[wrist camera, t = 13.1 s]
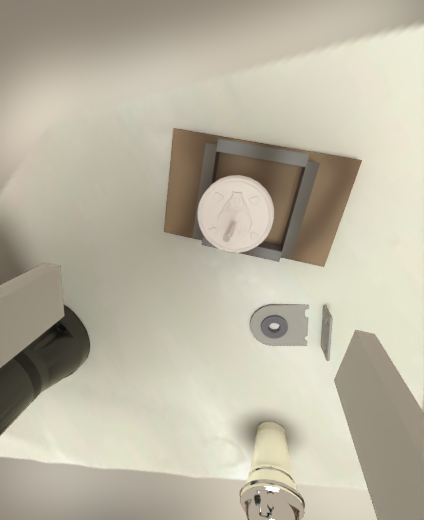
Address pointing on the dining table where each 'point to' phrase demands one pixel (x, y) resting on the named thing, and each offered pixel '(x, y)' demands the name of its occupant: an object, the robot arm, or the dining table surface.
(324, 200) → the keeper board
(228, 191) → the smoothie
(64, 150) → the dining table surface
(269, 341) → the grey arched plates
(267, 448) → the domed lid cup
